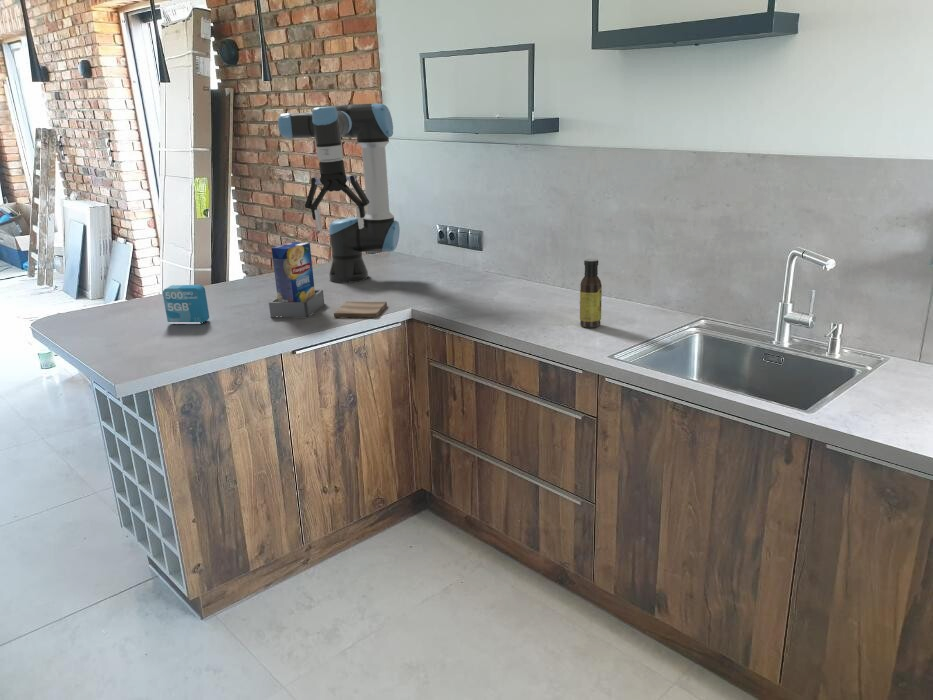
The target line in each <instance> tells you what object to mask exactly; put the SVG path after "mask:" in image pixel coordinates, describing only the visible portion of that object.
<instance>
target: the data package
mask: <svg viewBox="0 0 933 700" xmlns="http://www.w3.org/2000/svg"><path fill="white" fill-rule="evenodd" d="M162 297H163V298H162V299H163V303H164V309H165V314H166V319H167V323H168V322H200V323H202V322H204V323H206V322H207V321H208V320H209V319H210V312H209V305H208V301H207V293H206V289H205V287H204V286H203V285H202V284H175V285H174V284H173V285H172V284H171V285H169V286H168V287H166V288H164V289H163V290H162ZM206 320H207V321H206ZM205 321H206V322H205Z"/></svg>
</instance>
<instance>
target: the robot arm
mask: <svg viewBox="0 0 933 700" xmlns="http://www.w3.org/2000/svg"><path fill="white" fill-rule="evenodd" d="M392 118H393V117H392V114H391V111H390V109H389V107H388V106H387V105H386V104H384V103H375V102H373V103H356V104H355V103H353V104H350V103H349V104H341V105H337V106H332V105H331V106H320V107H314V108H312V109H311V111H310V112H309V111H308V112H307V111H305V112H287V113H280V115H279V116H278V119H277V128H278V131H279V134H280V136H281V137H282V138H284V139H305V138H308V139H309V138H315V144H316V145H315V146H316V152H317V160H319V162H318V165H319V166H318V167H319V173H320V177H317V176H314V177H312V178H311V177H310V178H311V179H310V183H311V185H310V188H309V191H308V195H307V197H306V200H305V201H306V202H305V205H304V208H306V209H309V210H310V211H311V215H312V220H314V221H315V222H316V231H317V232H320V231H321V230H323V229H324V228H323V223H322V216H321V209H320V208H318V206H319V205H320V203H321V202H322V200H323V199H324V197H325V196H326V194H327V192H340V191H341V192H343V193H344V194H346V196H347V197H349V199H350V200H351V201H353V203H354V204H355V205H356V206H357V207H356V208H355V210H356V215H357V216H356V217H355V216H353V217H347V218H346V217H345V218H340V219H337V220H334V221H332V222H330V223H329V234H328V235H329V240H330V249H331V264H330V270H329V273H328V276H329V281H331V282H335V283H355V281H356V282H360V280H361V281H364V280H366V278H367V277H368V278H369V270H368V269H367V266H366V263H365V261H364V257H363V253H388V252H390V253H391V252H395V250H396V248H397V247H398V244H399V239H400V229H401V227H400V223H399V221H397V220H395V216H394V214H393V213H391V212H390V200H389V184H388V170H387V155H386V147H387V145H388V144H389V141H390V138H391V137H392V136H393V135H394V123H393V119H392ZM342 138H347V139H349V138H351V139H353V138H355V139H356V143H357V144H358V146H360V148H361V155H362V165H363V166H362V167H363V178H364V179H363V180H364V190H365V192H364V190H363V189H362V187H361V185H360V184H359V182H358V179H357V176H356V174H352V175H346V169H345V162H344V160H343V158H344V154H343V147H342V140H341V139H342ZM347 181H348V182H349V184H351V186H352V187H353V189H354V190H355V192H356V194H355V192H353V190H352V189H350V187H349V186H348V185H347V184H346V183H347ZM320 183H321V185H322V188H321V189H320V192H319V194H318V195H317V197H315V194H316V192H317V188H318V185H319V184H320ZM357 195H358V196H357ZM314 197H315V200H314ZM313 201H314V202H313ZM365 207H366V211H365ZM368 278H367V279H368ZM363 279H364V280H363Z"/></svg>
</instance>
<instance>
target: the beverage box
mask: <svg viewBox="0 0 933 700" xmlns="http://www.w3.org/2000/svg"><path fill="white" fill-rule="evenodd" d="M271 254H272V262H273V263H272V264H273V271H274V279H275V286H276V294H277V296H276V297H278V302H305V301H307V300H308V299H309V298H311V297H312V296H313V295H315V290H316V289H315V280H314V271H313V261H312V251H311V243H310V242H300V241H291V242H289V243H283V244H279V245H277V246H273V247H271Z"/></svg>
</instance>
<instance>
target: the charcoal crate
mask: <svg viewBox="0 0 933 700" xmlns="http://www.w3.org/2000/svg"><path fill="white" fill-rule="evenodd" d="M323 304H324V305H325V298H324V290H323V289H315V295H313V296H312V297H311V298H309V299H308V300H307V301H305V302H278V297H277V296H276V297H275V298H273V299H272V300H270V301H268V307H269V314H270V318H282V317H308V318H309V317H310V315H311V314H312V313H313V314H314V313H315V312H316V311H318V310H319V309H320V308H321V307H323V306H324V305H323ZM318 308H319V309H318ZM317 309H318V310H317ZM313 314H312V315H313ZM312 315H311V316H312ZM276 316H278V317H276ZM280 316H282V317H280Z"/></svg>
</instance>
